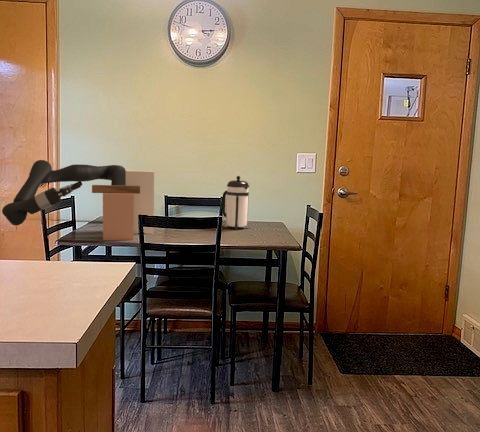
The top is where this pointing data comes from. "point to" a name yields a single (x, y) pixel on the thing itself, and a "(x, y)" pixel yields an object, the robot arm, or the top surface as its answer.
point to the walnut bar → (115, 189)
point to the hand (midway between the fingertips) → (80, 183)
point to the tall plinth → (142, 195)
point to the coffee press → (236, 203)
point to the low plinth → (118, 216)
